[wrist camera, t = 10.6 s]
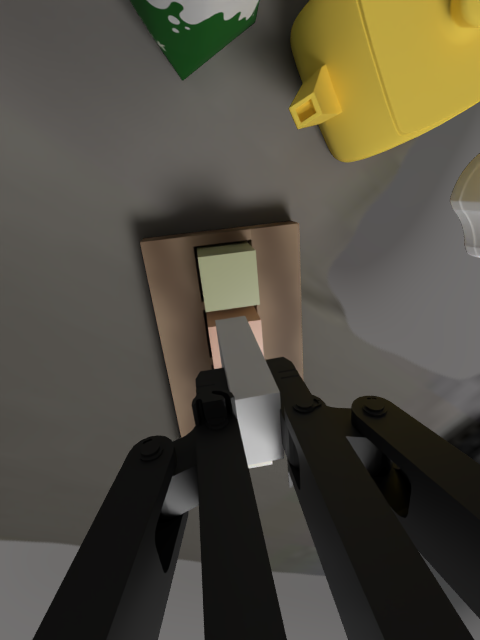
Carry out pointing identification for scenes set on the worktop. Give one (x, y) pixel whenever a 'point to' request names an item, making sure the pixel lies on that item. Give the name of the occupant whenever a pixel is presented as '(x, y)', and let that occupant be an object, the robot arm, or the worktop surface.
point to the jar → (469, 205)
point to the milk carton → (194, 27)
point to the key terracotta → (231, 313)
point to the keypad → (189, 308)
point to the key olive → (228, 275)
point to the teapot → (383, 70)
